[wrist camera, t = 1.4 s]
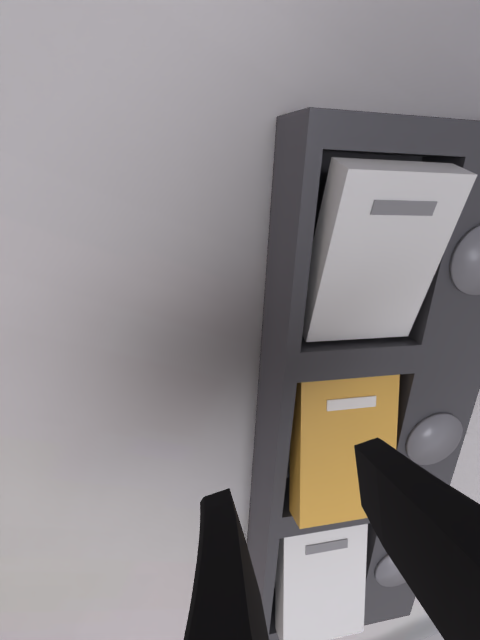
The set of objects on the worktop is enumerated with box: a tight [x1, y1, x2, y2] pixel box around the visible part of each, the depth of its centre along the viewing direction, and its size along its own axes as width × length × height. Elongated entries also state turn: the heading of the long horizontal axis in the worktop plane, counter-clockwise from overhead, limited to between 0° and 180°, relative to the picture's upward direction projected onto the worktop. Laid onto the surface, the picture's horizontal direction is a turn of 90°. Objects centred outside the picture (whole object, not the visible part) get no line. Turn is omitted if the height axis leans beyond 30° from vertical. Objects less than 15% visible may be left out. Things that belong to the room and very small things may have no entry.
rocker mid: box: [289, 375, 400, 529], centre depth 19 cm, size 5×7×2 cm
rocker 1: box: [275, 524, 368, 640], centre depth 22 cm, size 5×7×2 cm
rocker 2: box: [302, 157, 477, 342], centre depth 16 cm, size 5×7×2 cm
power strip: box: [247, 107, 480, 640], centre depth 21 cm, size 10×32×4 cm, turn 177°
